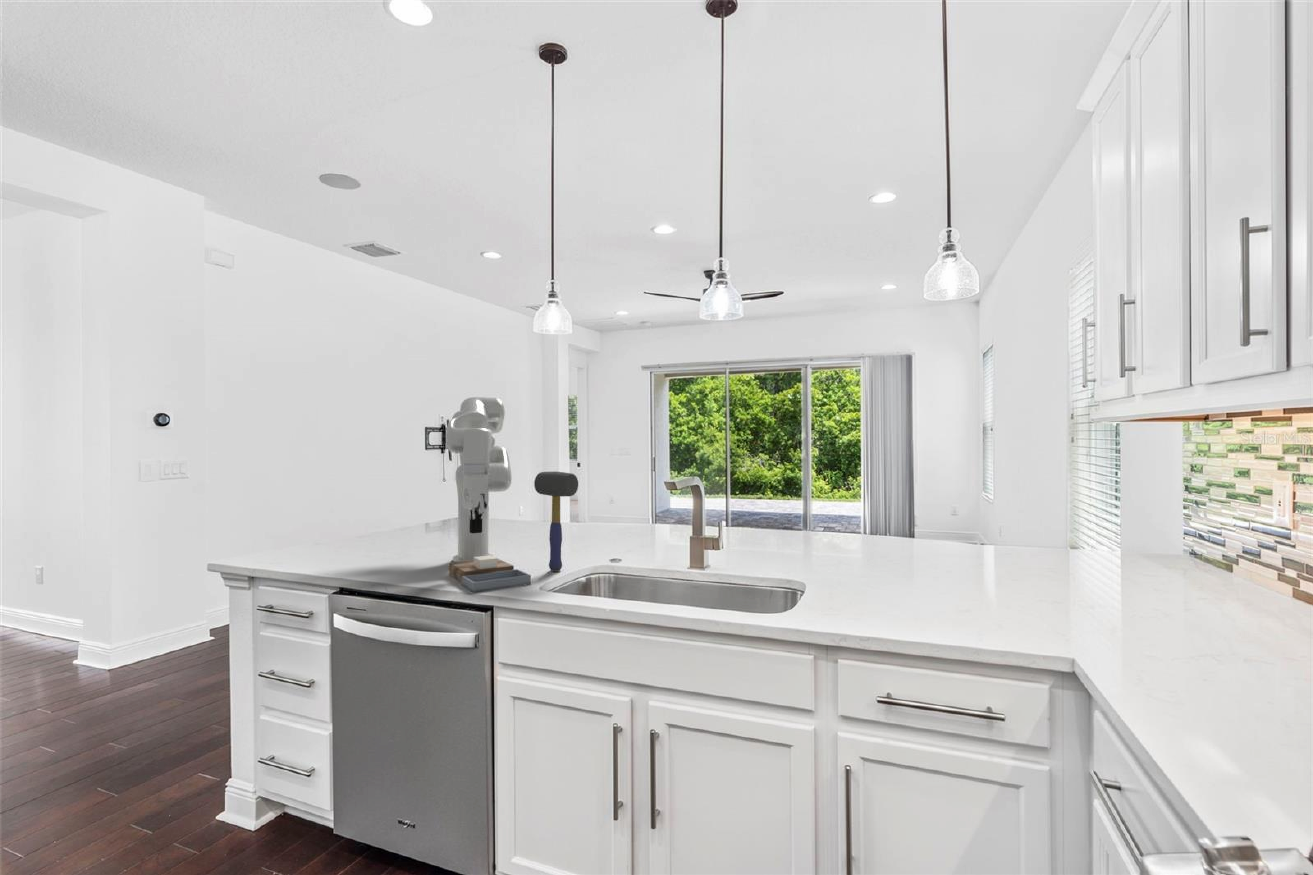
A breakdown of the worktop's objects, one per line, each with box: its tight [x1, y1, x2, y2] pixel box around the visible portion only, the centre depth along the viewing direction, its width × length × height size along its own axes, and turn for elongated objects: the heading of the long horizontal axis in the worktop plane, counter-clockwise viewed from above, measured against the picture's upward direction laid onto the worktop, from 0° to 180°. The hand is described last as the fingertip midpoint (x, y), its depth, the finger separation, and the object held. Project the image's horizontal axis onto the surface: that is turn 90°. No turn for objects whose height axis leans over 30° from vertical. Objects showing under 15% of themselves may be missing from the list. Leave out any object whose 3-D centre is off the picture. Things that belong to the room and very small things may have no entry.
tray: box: [461, 568, 532, 593], centre depth 168 cm, size 9×16×2 cm, turn 126°
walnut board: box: [448, 558, 515, 584], centre depth 178 cm, size 14×14×4 cm
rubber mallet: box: [533, 471, 579, 573], centre depth 186 cm, size 12×8×30 cm, turn 60°
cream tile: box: [474, 555, 498, 569], centre depth 175 cm, size 5×5×2 cm
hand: (475, 532), depth 181 cm, fingers closed
